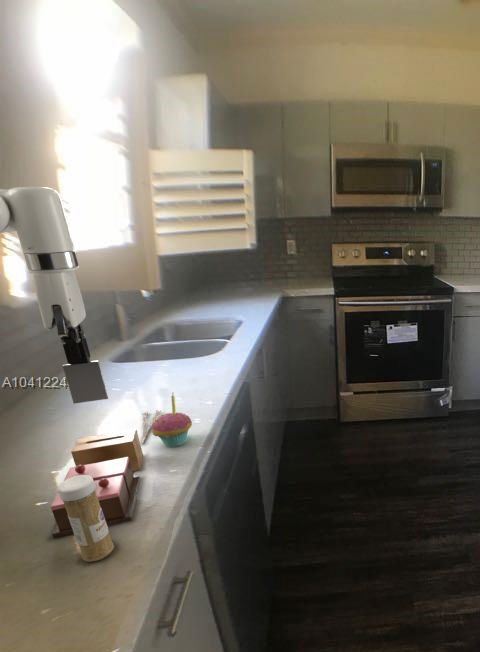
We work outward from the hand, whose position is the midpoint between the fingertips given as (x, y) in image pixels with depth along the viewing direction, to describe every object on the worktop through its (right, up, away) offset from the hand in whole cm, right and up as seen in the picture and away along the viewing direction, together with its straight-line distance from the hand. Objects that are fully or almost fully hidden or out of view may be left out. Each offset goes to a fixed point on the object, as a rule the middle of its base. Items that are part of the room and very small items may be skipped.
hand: (79, 360), depth 88 cm
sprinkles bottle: (+13, -32, -14) cm, 37 cm away
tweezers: (-1, -16, +27) cm, 31 cm away
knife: (0, -8, +3) cm, 9 cm away
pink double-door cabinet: (+6, -27, -3) cm, 28 cm away
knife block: (+1, -23, +9) cm, 25 cm away
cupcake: (+10, -19, +19) cm, 29 cm away
